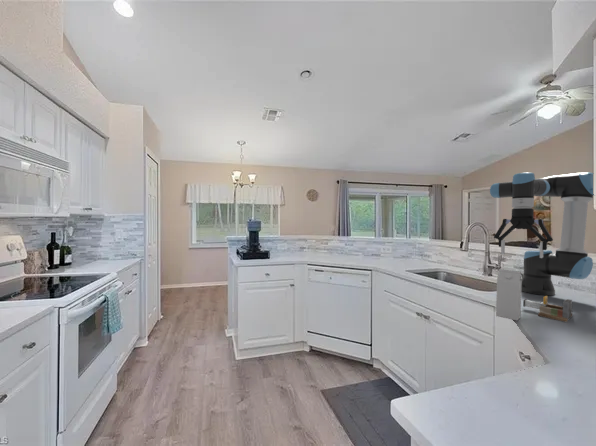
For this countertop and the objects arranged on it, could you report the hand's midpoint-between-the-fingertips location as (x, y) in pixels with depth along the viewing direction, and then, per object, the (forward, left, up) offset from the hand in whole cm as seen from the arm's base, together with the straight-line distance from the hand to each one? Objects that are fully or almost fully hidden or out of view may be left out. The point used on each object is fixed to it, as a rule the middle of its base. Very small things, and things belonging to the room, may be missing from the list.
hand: (521, 256), depth 122 cm
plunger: (-1, +5, -22) cm, 23 cm away
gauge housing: (-1, +11, -24) cm, 26 cm away
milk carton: (+17, 0, -24) cm, 29 cm away
